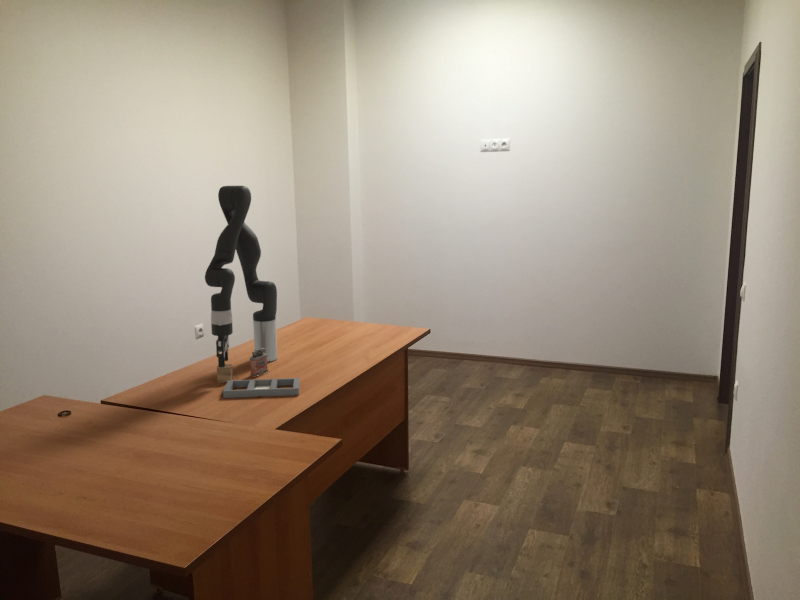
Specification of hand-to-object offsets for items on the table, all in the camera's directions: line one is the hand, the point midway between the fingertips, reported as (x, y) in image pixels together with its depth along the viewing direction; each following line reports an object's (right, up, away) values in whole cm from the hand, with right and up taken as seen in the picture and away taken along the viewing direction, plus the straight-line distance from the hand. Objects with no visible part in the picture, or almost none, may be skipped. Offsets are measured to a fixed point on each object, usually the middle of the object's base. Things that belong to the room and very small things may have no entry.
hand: (223, 363), depth 240 cm
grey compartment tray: (+17, -9, -9) cm, 21 cm away
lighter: (+11, -5, +10) cm, 16 cm away
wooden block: (0, -7, +2) cm, 7 cm away
